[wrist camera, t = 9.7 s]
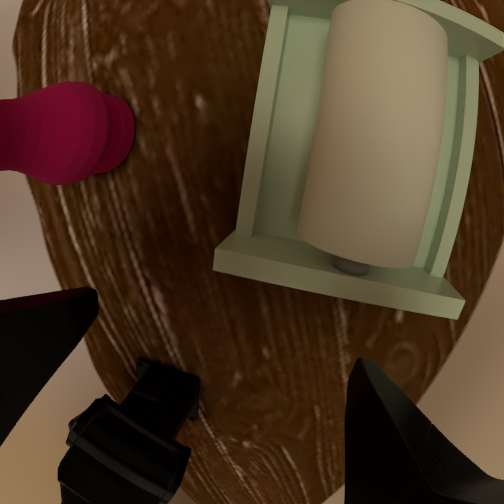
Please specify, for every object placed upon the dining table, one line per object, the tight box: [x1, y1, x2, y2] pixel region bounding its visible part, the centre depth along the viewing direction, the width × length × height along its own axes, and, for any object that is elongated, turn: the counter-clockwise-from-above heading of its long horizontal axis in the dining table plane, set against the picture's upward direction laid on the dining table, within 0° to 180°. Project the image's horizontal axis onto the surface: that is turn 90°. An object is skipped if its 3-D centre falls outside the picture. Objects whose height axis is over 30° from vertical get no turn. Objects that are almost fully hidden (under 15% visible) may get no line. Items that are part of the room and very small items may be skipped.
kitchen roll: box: [297, 0, 448, 268], centre depth 13 cm, size 13×6×6 cm, turn 171°
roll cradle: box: [213, 0, 504, 320], centre depth 14 cm, size 18×14×6 cm
